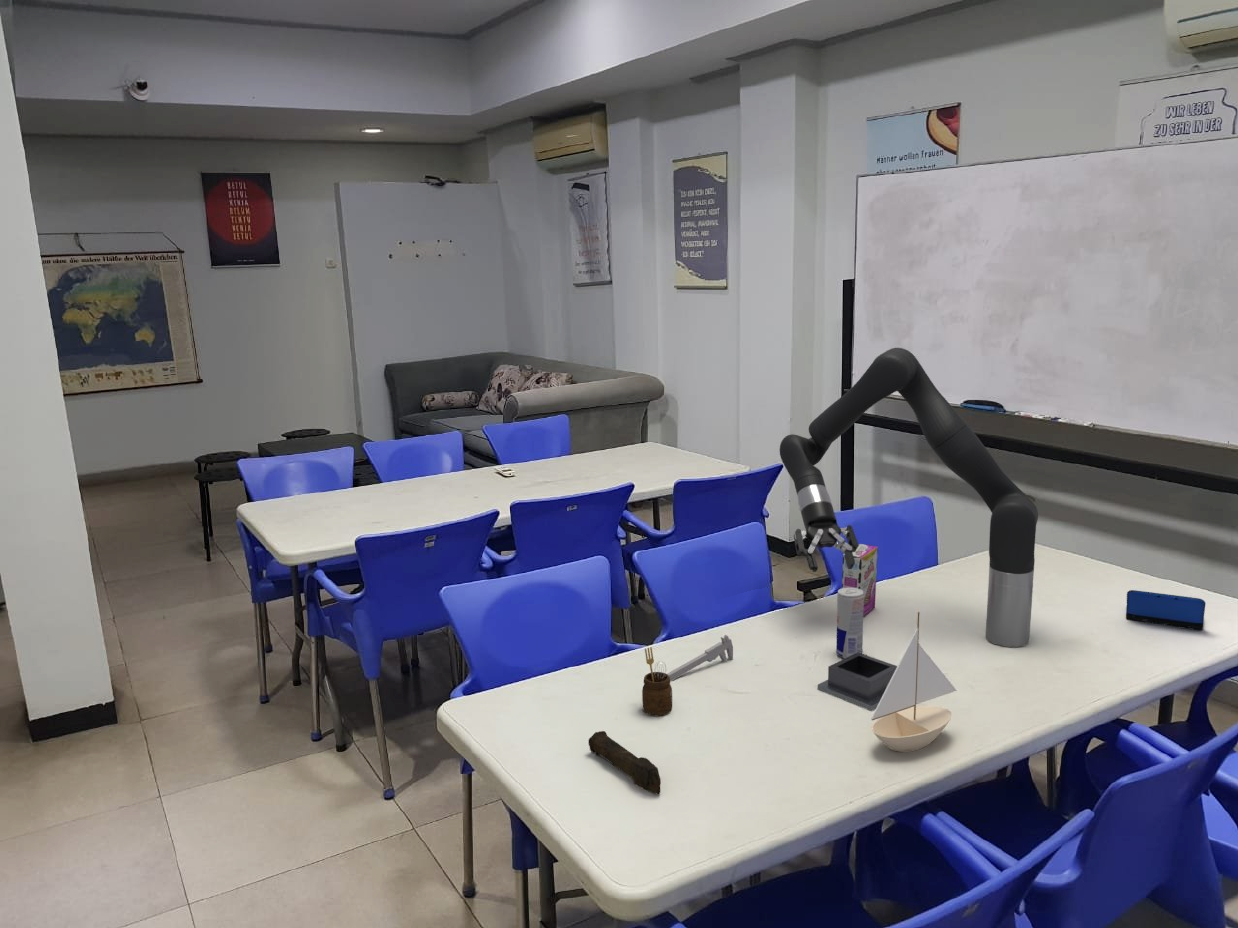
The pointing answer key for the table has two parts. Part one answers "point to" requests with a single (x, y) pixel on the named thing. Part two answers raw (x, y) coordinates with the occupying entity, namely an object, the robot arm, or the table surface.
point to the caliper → (706, 657)
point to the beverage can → (849, 621)
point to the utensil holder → (656, 690)
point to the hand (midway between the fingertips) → (833, 569)
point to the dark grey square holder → (859, 680)
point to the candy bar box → (862, 574)
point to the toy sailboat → (912, 702)
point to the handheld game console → (1165, 609)
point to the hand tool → (626, 762)
